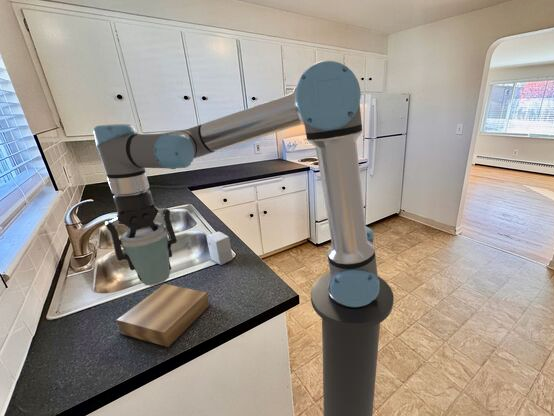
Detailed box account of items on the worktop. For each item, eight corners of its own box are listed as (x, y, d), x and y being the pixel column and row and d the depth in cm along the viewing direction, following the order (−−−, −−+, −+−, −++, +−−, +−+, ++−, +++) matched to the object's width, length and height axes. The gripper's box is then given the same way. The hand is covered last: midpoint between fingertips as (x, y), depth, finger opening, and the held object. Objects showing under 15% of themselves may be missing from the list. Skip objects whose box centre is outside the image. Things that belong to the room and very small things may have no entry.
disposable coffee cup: (134, 296, 66) (116, 243, 61) (132, 275, 74) (116, 227, 69) (181, 280, 72) (168, 231, 67) (175, 263, 80) (163, 217, 75)
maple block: (209, 305, 83) (206, 292, 82) (168, 347, 69) (164, 332, 67) (168, 296, 88) (164, 283, 86) (121, 334, 73) (116, 319, 72)
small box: (233, 259, 108) (229, 236, 104) (220, 265, 104) (215, 241, 100) (223, 253, 113) (219, 230, 109) (210, 258, 109) (205, 235, 105)
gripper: (170, 181, 73) (187, 254, 81) (78, 197, 60) (109, 281, 69) (179, 186, 68) (196, 264, 76) (81, 205, 55) (114, 295, 64)
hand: (155, 272), depth 73 cm, fingers open, 6 cm apart
